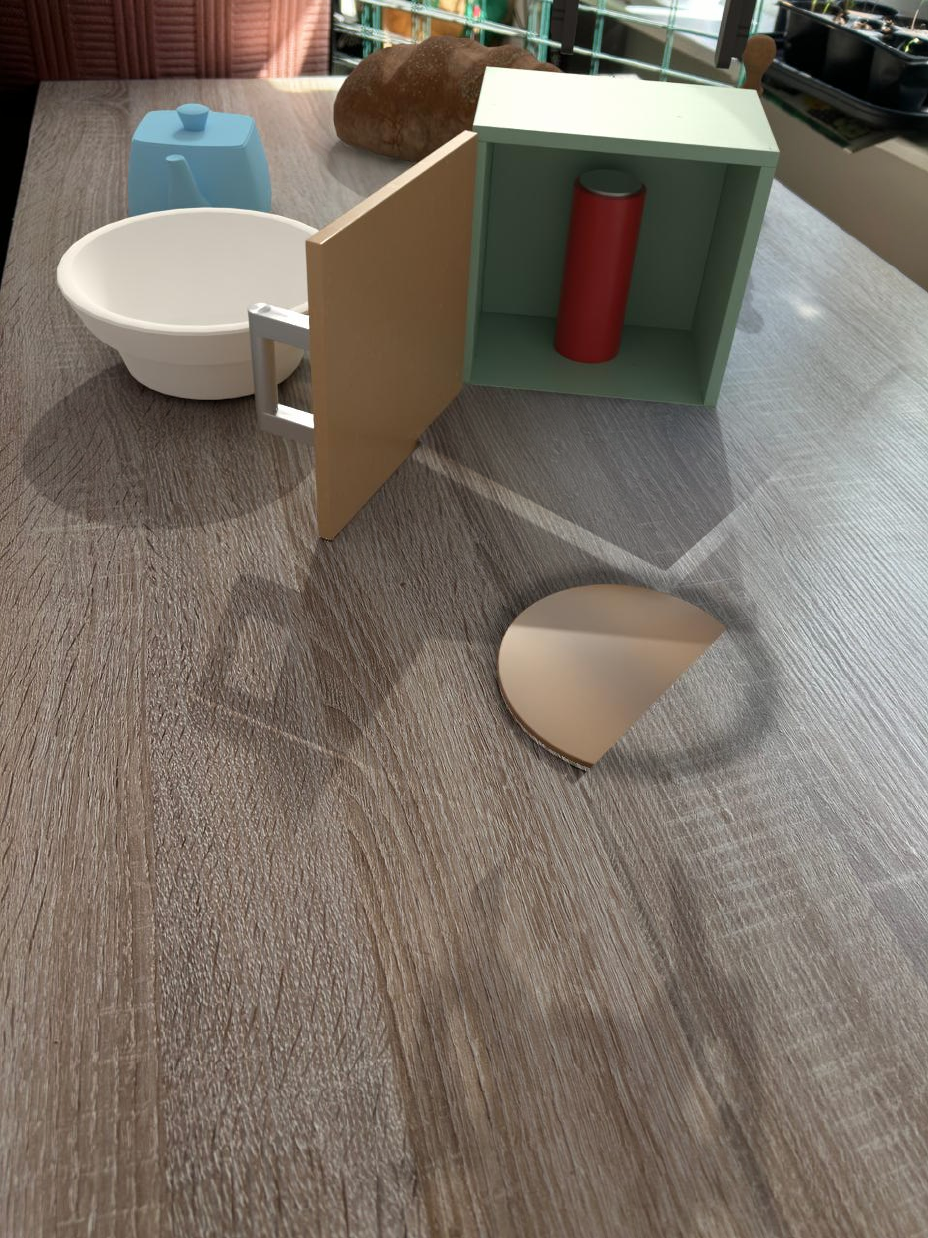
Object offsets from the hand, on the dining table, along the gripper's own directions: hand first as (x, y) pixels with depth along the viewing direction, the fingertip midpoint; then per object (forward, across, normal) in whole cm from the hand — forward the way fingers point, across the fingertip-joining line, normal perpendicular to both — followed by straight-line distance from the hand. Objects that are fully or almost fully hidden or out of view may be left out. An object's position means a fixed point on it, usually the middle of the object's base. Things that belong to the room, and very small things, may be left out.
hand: (643, 57), depth 59 cm
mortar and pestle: (+27, -13, -45) cm, 54 cm away
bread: (+27, +15, -60) cm, 67 cm away
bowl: (+27, +29, -8) cm, 41 cm away
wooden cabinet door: (+27, +15, +2) cm, 31 cm away
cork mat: (+27, -4, +22) cm, 35 cm away
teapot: (+27, +36, -30) cm, 54 cm away
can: (+26, 0, -15) cm, 30 cm away
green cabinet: (+27, 0, -14) cm, 30 cm away
